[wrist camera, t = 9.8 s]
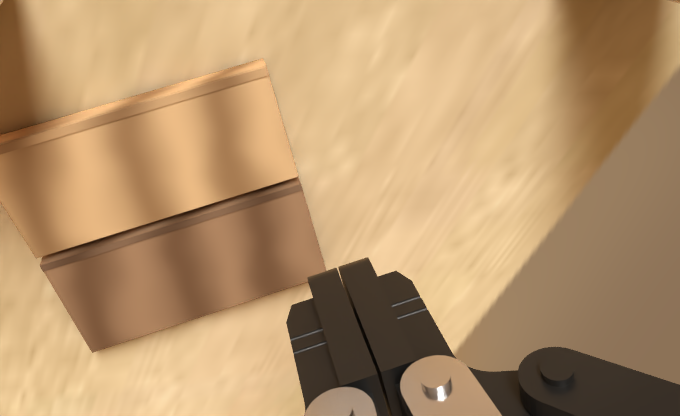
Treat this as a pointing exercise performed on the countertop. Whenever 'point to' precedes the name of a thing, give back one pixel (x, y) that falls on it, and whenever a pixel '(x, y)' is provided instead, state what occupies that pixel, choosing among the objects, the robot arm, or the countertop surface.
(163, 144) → the oak plank
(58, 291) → the walnut board
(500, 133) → the countertop surface
